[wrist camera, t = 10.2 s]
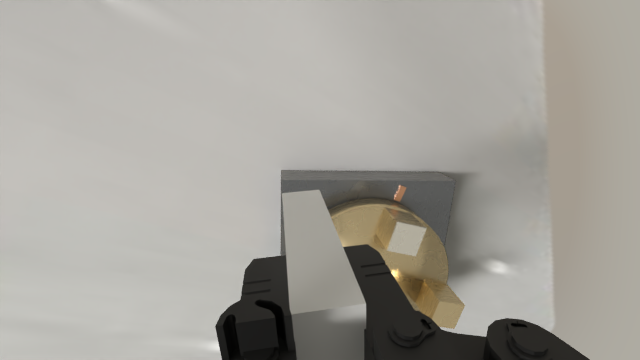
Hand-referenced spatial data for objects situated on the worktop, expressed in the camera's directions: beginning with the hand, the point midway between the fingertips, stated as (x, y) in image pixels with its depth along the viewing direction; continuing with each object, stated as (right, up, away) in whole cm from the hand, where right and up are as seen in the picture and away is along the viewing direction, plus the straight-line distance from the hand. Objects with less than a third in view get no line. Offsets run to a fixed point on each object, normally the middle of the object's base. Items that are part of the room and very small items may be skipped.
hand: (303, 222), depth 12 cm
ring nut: (+6, -9, +24) cm, 27 cm away
